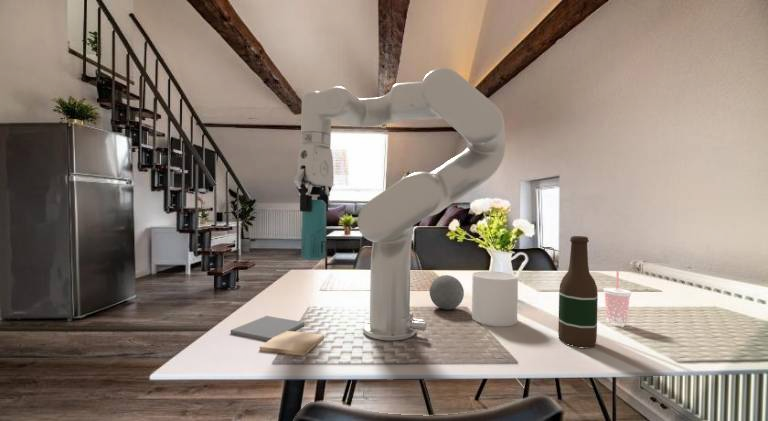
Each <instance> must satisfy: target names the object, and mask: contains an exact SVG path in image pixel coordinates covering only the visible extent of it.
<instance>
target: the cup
mask: <svg viewBox="0 0 768 421" xmlns="http://www.w3.org/2000/svg"><path fill="white" fill-rule="evenodd" d="M471 280H472V281H471V282H472V283H471V284H472V285H471V286H472V287H471V289H472V290H471V295H472V296H471V318H472V320H473V321H474V320H475V322H476V323H478V322H479V324H481V325H485V326H491V327H498V328H499V327H512V326H515V325H516V324H517V323H518V300H519V299H518V298H519V296H518V294H519V293H518V292H519V291H518V288H519V286H518V285H519V278H518V276H517V275H516V274H512V273H507V272H503V271H502V272H501V271H500V272H499V271H477V272H473V273H472V278H471ZM514 324H515V325H514Z"/></svg>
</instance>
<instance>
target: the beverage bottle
mask: <svg viewBox="0 0 768 421" xmlns="http://www.w3.org/2000/svg"><path fill="white" fill-rule="evenodd" d="M322 190H323V188H322V187H317V186H313V187H312V190H311V193H310V195H309V196H319V195H322V194H323V193H322ZM327 225H328V224H327V212H326V203H325V202H324V201H323V200H317V199H312V211H311V212H303V211H301V240H300V243H301V244H300V245H301V246H300V247H301V248H300V251H301V252H300V256H301V259H303V260H309V261H310V260H311V261H315V260H316V261H317V260H324V259H326V256H327V245H328V244H327Z"/></svg>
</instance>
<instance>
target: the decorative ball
mask: <svg viewBox="0 0 768 421" xmlns="http://www.w3.org/2000/svg"><path fill="white" fill-rule="evenodd" d="M464 295H465V291H464V287H463V285H462V283H461V281H459V279H458V278H456V277H455V276H454V275H453V276H452V275H449V274H445V275H443V274H442V275H440V276H438V277H436V278H435V279H434V280H433V281H432V282H431V285H430V287H429V298H430V299H431V301H432V303H433V304H434V305H435V306H436V307H437V308H439V309H441V310H445V311H448V310H454V309H456V308H457V307H459V306H460V304H462V301H463V299H464V297H465V296H464Z"/></svg>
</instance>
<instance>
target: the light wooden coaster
mask: <svg viewBox="0 0 768 421" xmlns="http://www.w3.org/2000/svg"><path fill="white" fill-rule="evenodd" d="M324 338H325V334H323V333H322V334H321V333H313V332H305V331H304V332H303V331H295V330H294V331H285V332H283V333H281V334H278V335H276V336H275V337H273V338H272V339H270V340H269V341H265V343H263V344H261V345H259V351H260V352H268V353H277V354H286V355H295V356H303V357H304V356H307V354H308V353H309V352H311V350H313V348H315V347H316V346H317V345H318V344H319V343H320V342H321V341H322V340H324Z"/></svg>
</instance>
